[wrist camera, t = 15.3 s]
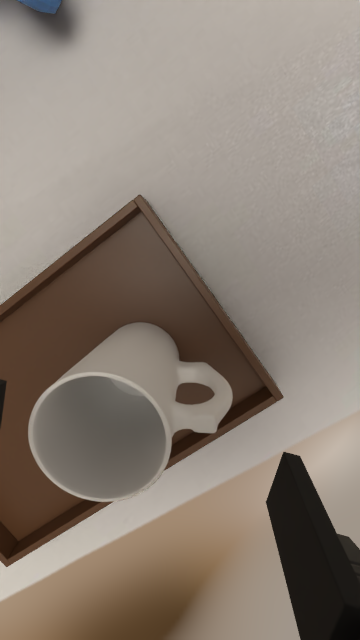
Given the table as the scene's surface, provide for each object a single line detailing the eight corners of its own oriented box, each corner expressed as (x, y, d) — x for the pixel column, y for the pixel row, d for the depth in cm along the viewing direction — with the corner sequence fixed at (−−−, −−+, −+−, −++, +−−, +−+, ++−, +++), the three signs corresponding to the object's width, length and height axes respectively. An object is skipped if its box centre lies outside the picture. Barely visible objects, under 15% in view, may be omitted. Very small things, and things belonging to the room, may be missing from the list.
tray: (145, 199, 25) (139, 193, 23) (276, 384, 27) (284, 397, 25) (-110, 401, 30) (-138, 414, 27) (20, 543, 32) (6, 567, 30)
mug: (104, 397, 28) (37, 502, 16) (97, 319, 27) (18, 373, 15) (223, 395, 27) (243, 503, 16) (222, 316, 26) (242, 369, 14)
